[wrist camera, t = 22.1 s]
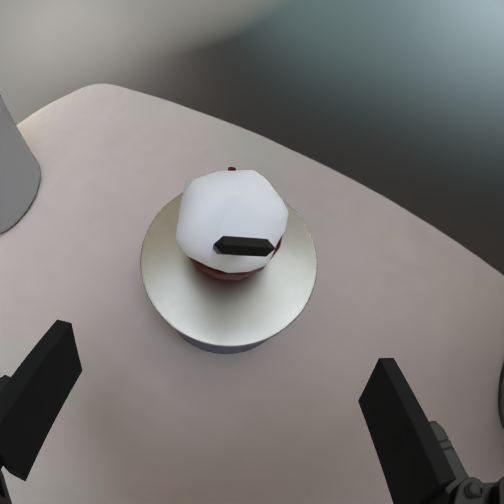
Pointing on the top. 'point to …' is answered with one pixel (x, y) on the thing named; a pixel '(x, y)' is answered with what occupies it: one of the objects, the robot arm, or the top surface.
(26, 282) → the top surface
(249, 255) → the cocoa
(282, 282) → the beige and blue cylinder
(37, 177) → the cylinder vase
